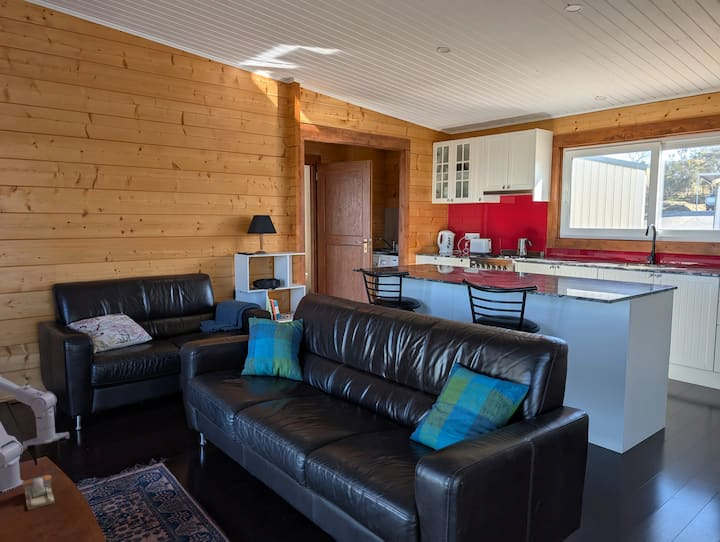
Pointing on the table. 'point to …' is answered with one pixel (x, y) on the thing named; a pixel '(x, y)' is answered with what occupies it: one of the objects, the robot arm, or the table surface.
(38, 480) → the greenish grey block
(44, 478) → the orange brown bar
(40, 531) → the table surface
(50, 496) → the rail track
